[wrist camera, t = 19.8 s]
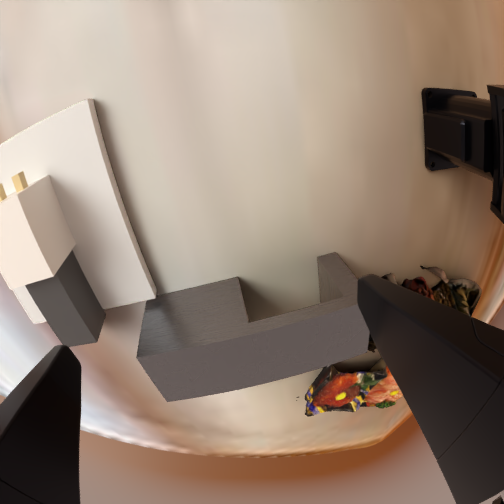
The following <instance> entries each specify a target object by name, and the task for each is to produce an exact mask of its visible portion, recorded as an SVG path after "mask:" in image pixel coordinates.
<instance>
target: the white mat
mask: <svg viewBox="0 0 504 504" xmlns="http://www.w3.org/2000/svg"><path fill="white" fill-rule="evenodd" d="M22 171H23V172H24V175H25V178H26V181H27V184H30V183H33V182H35V181H37V180H39V179H41V178H43V177H45V176H47V175H49V176H50V179H51V182H52V185H53V188H54V191H55V193H56V196H57V199H58V201H59V204H60V206H61V209H62V212H63V214H64V217H65V219H66V221H67V224H68V226H69V229H70V231H71V233H72V236H73V238H74V240H75V242H76V245H75V246H74V248H73V249H72V250H73V252H74V254H75V257H76V259H77V261H78V263H79V265H80V267H81V269H82V271H83V273H84V275H85V277H86V279H87V281H88V283H89V285H90V287H91V288H92V290H93V292H94V294H95V296H96V298H97V299H98V301H99V303H100V305H101V307H102V308H103V310H105V309H109V308H114V307H119V306H123V305H128V304H132V303H137V302H141V301H146V300H150V299H155V298H156V293H157V289H156V287H155V284H154V282H153V280H152V277H151V275H150V272H149V270H148V268H147V265H146V263H145V260H144V258H143V255H142V253H141V250H140V248H139V245H138V242H137V240H136V237H135V235H134V232H133V229H132V227H131V224H130V221H129V218H128V216H127V213H126V210H125V207H124V204H123V201H122V198H121V195H120V192H119V189H118V186H117V183H116V180H115V177H114V174H113V171H112V167H111V164H110V161H109V157H108V154H107V151H106V147H105V144H104V140H103V137H102V133H101V129H100V125H99V122H98V118H97V114H96V110H95V105H94V101H93V99H85V100H83V101H81V102H79V103H76V104H74V105H72V106H70V107H68V108H65V109H63V110H61V111H59V112H57V113H55V114H53V115H51V116H49V117H47V118H45V119H43V120H41V121H40V122H38V123H36V124H34V125H32V126H30V127H29V128H27V129H25V130H23V131H22V132H20V133H18V134H16V135H15V136H13V137H11V138H10V139H8V140H6V141H5V142H3V143H2V144H0V184H1V183H2V185H3V188H4V190H5V193H6V196H7V195H9V194H11V193H13V192H15V191H16V189H15V187H14V184H13V181H12V178H11V177H13V176H14V175H16V174H18V173H20V172H22ZM12 290H13V292H14V293H15V295H16V297H17V298H18V300H19V302H20V303H21V305H22V307H23V308H24V310H25V311H26V313H27V315H28V316H29V318H30V319H31V321H32V322H33V324H37V323H42V322H47V321H46V319H45V318H44V316H43V315H42V313H41V312H40V310H39V308H38V307H37V305H36V304H35V302H34V300H33V299H32V297H31V295H30V294H29V292H28V290H27V288H26V287H25V285H24V286H21V287H18V288H14V289H12Z"/></svg>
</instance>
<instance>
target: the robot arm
mask: <svg viewBox="0 0 504 504" xmlns="http://www.w3.org/2000/svg"><path fill="white" fill-rule="evenodd" d="M487 89H488V93H489V94H490V100H486V99H480V98H477V95H476V93H475V92H472V91H463V90H453V89H441V88H424V89H423V90H422V101H423V114H424V131H425V166H426V168H427V169H429V170H431V171H435V170H441V169H448V168H455V167H462V168H464V169H467V170H469V171H471V172H474V173H476V174H478V175H480V176H483V177H485V178H487V179H489V180H491V181H493V194H492V201H491V206H490V210H491V211H492V212H493V213H494V214H495V215H496V216H497V217H498V218H499V219H500V220H501V221H502V223H503V224H504V85H487ZM428 93H429V96H428ZM431 162H432V165H431ZM357 303H358V307H359V309H360V311H361V314H362V316H363V318H364V320H365V322H366V325H367V327H368V329H369V332H370V334H371V336H372V338H373V341H374V343H375V345H376V347H377V349H378V351H379V353H380V355H381V357H382V358H383V360H384V362H385V364H386V365H387V367H388V369H389V371H390V372H391V374H392V376H393V378H394V379H395V381H396V383H397V385H398V387H399V389H400V390H401V392H402V394H403V396H404V398H405V400H406V401H407V403H408V405H409V407H410V409H411V411H412V413H413V414H414V416H415V418H416V420H417V422H418V424H419V426H420V428H421V430H422V432H423V434H424V436H425V438H426V440H427V442H428V444H429V446H430V447H431V450H432V452H433V454H434V456H435V458H436V459H437V462H438V464H439V467H440V468H441V471H442V473H443V475H444V477H445V479H446V481H447V484H448V486H449V488H450V490H451V492H452V495H453V497H454V499H455V501H456V504H479V503H481V502H483V501H485V500H487V499H489V498H491V497H493V496H495V495H496V494H498V493H500V496H499V497H498V498H497V499H495V500H494V501H493V503H492V504H504V330H501V329H499V328H496V327H494V326H491V325H489V324H487V323H484V322H482V321H480V320H478V319H475V318H473V317H472V318H471V317H470V316H469V315H466V314H464V313H462V312H460V311H457V310H455V309H453V308H451V307H448V306H446V305H444V304H441V303H439V302H437V301H435V300H432V299H430V298H428V297H425V296H423V295H421V294H418V293H416V292H414V291H411V290H409V289H407V288H404V287H402V286H400V285H397V284H395V283H393V282H390V281H388V280H385V279H383V278H381V277H378V276H376V275H373V274H368V275H365V276H362V277H360V278H359V279H358V284H357ZM80 420H81V364H80V362H79V360H78V359H77V358H76V356H75V355H74V354H73V352H72V351H71V350H70V348H69V347H68V346H67V345H57V346H55V347H54V348H53V349H52V350H51V351H50V352H49V353H48V354H47V355H46V356H45V357H44V358H43V359H42V360H41V361H40V362H39V363H38V364H37V365H36V366H35V367H34V368H33V369H32V370H31V371H30V372H29V373H28V375H27V376H26V377H25V378H24V379H23V380H22V381H21V382H20V383H19V384H18V385H17V386H16V388H15V389H14V390H13V391H12V392H11V393H10V394H9V395H8V396H7V397H6V399H5V400H4V401H3V402H2V403H1V404H0V504H80V489H79V488H80V487H79V440H80Z"/></svg>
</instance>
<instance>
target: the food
mask: <svg viewBox="0 0 504 504" xmlns="http://www.w3.org/2000/svg"><path fill="white" fill-rule="evenodd" d="M420 267H421V268H422V269H428V270H429V271H431V272H432V273H434V274H436V275H437V276H439V277H440V278H442V279H443V280H441V281H440V282H439V283H438V284H437V285H436V286H434V287H433V288H431V289H430V288H429V287H428V286H427V284H426V280H425V279H424V278H423V277H416V278H415V279H413V280H408V279H405V280H404V282H403V284H402V285H401V286H402V287H404V288H407V289H409V290H411V291H414V292H416V293H418V294H421V295H423V296H425V297H428V298H430V299H432V300H435V301H437V302H439V303H441V304H444V305H446V306H448V307H451V308H453V309H455V310H457V311H460V312H462V313H464V314H466V315H469V316H470V317H471V316H472V313H473V311H474V309H475V307H476V305H477V303H478V301H479V298H480V295H481V288H480V287H479V285H478V284H477V283H476V282H474V281H471V280H468V279H447V277H446V275H445V273H444V270H442V269H439V268H437V267H430V268H424V267H423V266H420ZM381 278H383V279H385V280H388V281H390V282H393V283H395V284H397V283H396V278H395V275H394V274H393V273H390V274H387V275H384V276H383V277H381ZM397 285H398V284H397ZM376 348H377V347H376V345H375V343H374V341H373V338H372V336H371V334H370V333H369V342H368V349H367V350H369V351H372V352H375V351H374V349H376ZM402 396H403V394H402V392H401V390H400V389H399V387H398V385H397V383H396V381H395V379H394V378H393V376H392V374H391V372H390V371H389V369H388V367H387V365H386V364H385V362H384V360H383V358H381V359H380V360H379V361H378V362H377V363H376V364H375V365H374V366H373V367H372V368H371V369H370V370H369V372H363V371H362V372H360V371H359V372H354V373H353V374H349V373H340V372H338V371H337V370H336V369H335V367H334V366H333V364H332V365H328V366H325V367H324V368H323V370H322V371H321V373H320V374H319V375H318V377H317V378H316V379H315V381H314V382H313V383H312V385H311V386H310V387H309V390H308V392H307V393H306V395H305V400H306V401H307V404H306V413H305V415H307V416H314V415H316V414H319V413H322V412H326V411H332V410H333V411H335V410H336V411H348V412H349V411H350V412H355V411H357V410H358V409H359V407H370V406H376V407H379V408H384V407H386V408H387V407H389V406H392V405H395V404H396V401H397V399H399V398H401V397H402ZM297 398H298V397H297ZM296 401H297V400H296ZM363 402H364V403H363Z"/></svg>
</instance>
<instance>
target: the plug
mask: <svg viewBox="0 0 504 504" xmlns="http://www.w3.org/2000/svg"><path fill="white" fill-rule="evenodd" d="M11 178H12V181H13V184H14V187H15V189H16V191H15V192H13V193H11V194H9V195H7V196H6V193H5V190H4V188H3V185H2V183H1V184H0V272H1V274H2V276H3V278H4V280H5V281H6V283H7V285H8V287H9V289H10V290H11V289H14V288H18V287H21V286H24V285H25V287H26V288H27V290H28V292H29V294H30V295H31V297H32V299H33V300H34V302H35V304H36V305H37V307H38V308H39V310H40V312H41V313H42V315H43V316H44V318H45V319H46V321H47V322H48V324H49V325H50V327H51V328H52V330H53V331H54V333H55V334H56V336H57V337H58V338H59V340H60V341H61V343H62V344H63V345H67V346H68V347H71V346H78V345H84V344H90V343H96V342H97V341H98V338H99V335H100V332H101V328H102V325H103V322H104V319H105V316H106V314H105V312H104V310H103V308H102V307H101V305H100V303H99V301H98V299H97V298H96V296H95V294H94V292H93V290H92V288H91V287H90V285H89V283H88V281H87V279H86V277H85V275H84V273H83V271H82V269H81V267H80V265H79V263H78V261H77V259H76V257H75V254H74V252H73V250H72V249H73V248H74V246H75V245H76V242H75V240H74V238H73V236H72V233H71V231H70V229H69V226H68V224H67V221H66V219H65V217H64V214H63V212H62V209H61V206H60V204H59V201H58V199H57V196H56V193H55V191H54V188H53V185H52V182H51V179H50V176H49V175H47V176H45V177H43V178H41V179H39V180H37V181H35V182H33V183H30V184H27V181H26V178H25V175H24V172H23V171H22V172H20V173H18V174H16V175H14V176H13V177H11Z"/></svg>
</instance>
